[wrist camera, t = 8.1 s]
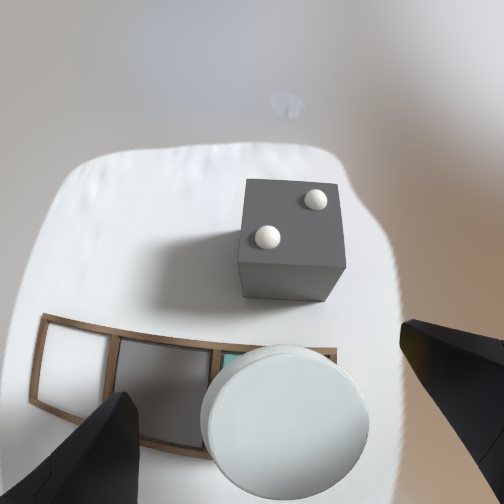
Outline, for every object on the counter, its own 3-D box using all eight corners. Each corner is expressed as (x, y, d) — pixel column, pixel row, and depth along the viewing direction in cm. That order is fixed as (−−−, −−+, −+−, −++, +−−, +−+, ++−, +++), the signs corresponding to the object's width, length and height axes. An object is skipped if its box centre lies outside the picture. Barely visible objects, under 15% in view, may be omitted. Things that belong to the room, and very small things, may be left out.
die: (322, 231, 20) (339, 176, 15) (324, 301, 17) (349, 261, 12) (249, 227, 20) (246, 171, 15) (243, 297, 18) (236, 255, 13)
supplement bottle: (217, 446, 13) (164, 504, 5) (230, 358, 16) (192, 312, 7) (314, 454, 13) (377, 517, 4) (324, 366, 15) (397, 329, 7)
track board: (334, 349, 16) (336, 347, 15) (328, 461, 13) (330, 463, 12) (46, 314, 17) (43, 312, 17) (33, 402, 14) (28, 402, 13)
